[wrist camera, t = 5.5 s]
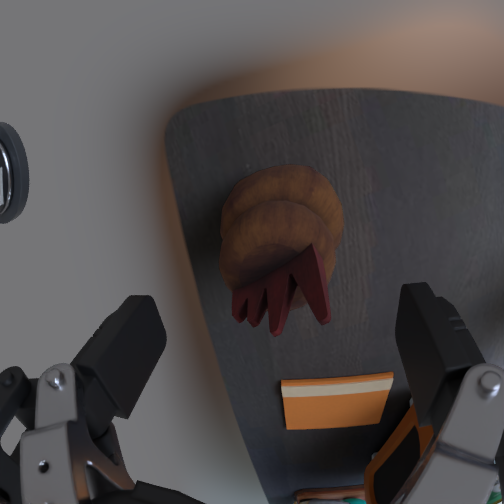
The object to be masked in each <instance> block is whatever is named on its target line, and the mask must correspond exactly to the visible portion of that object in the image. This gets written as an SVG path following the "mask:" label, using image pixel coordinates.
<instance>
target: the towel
mask: <svg viewBox="0 0 504 504" xmlns="http://www.w3.org/2000/svg"><path fill="white" fill-rule="evenodd" d="M393 375H394V374H393V372H386V373H378V374H369V375H360V376H349V377H336V378H321V379H298V380H281V389H282V397H283V403H284V411H285V420H286V428H287V429H322V428H338V427H350V426H360V425H369V424H377V423H379V422H380V419H381V416H382V413H383V410H384V406H385V403H386V400H387V397H388V393H389V390H390V389H391V386H392V382H393Z"/></svg>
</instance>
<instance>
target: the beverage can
mask: <svg viewBox="0 0 504 504" xmlns="http://www.w3.org/2000/svg"><path fill="white" fill-rule="evenodd" d="M501 501H502V496H501V490H500V483H499V477H498V476H497V479H496V482H495V484H494V487H493V489H492V492H491V494H490V496H489V499H488V501H487V503H486V504H498V503H500V502H501Z"/></svg>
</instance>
